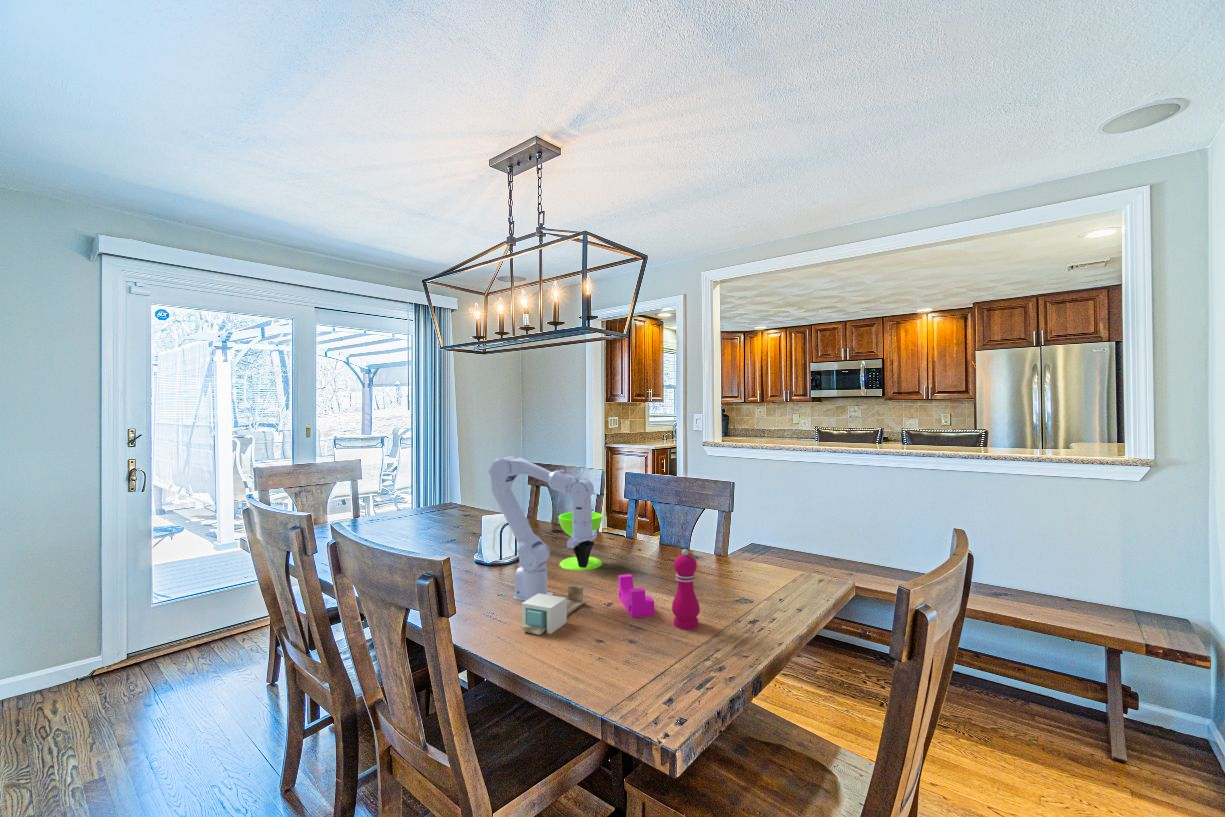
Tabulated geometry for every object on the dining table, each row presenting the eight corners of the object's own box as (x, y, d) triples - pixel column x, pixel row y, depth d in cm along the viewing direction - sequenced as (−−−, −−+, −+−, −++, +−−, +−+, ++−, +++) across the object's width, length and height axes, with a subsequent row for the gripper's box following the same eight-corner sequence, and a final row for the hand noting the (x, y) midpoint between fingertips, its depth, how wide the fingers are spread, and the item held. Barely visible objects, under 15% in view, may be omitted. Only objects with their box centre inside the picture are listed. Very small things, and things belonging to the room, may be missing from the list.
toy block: (654, 617, 145) (654, 589, 145) (632, 619, 143) (632, 591, 143) (638, 598, 159) (638, 573, 159) (618, 600, 158) (618, 575, 158)
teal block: (526, 627, 135) (526, 610, 135) (535, 621, 139) (535, 605, 139) (540, 630, 133) (540, 613, 133) (549, 623, 137) (549, 607, 137)
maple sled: (523, 631, 134) (523, 612, 134) (570, 600, 156) (570, 584, 156) (539, 634, 132) (539, 615, 132) (584, 602, 154) (584, 586, 154)
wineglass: (602, 571, 185) (601, 520, 185) (556, 571, 186) (555, 520, 186) (603, 558, 201) (602, 511, 201) (561, 558, 202) (560, 511, 202)
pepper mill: (682, 633, 133) (681, 554, 133) (666, 623, 140) (665, 548, 140) (705, 627, 137) (704, 550, 137) (689, 618, 143) (688, 544, 143)
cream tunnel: (521, 629, 137) (521, 603, 137) (538, 618, 144) (538, 593, 144) (550, 635, 133) (550, 608, 133) (566, 623, 141) (566, 597, 141)
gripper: (581, 527, 148) (582, 575, 148) (605, 517, 161) (606, 561, 161) (560, 525, 151) (561, 572, 151) (585, 515, 164) (585, 559, 164)
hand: (583, 566), depth 156 cm, fingers closed
